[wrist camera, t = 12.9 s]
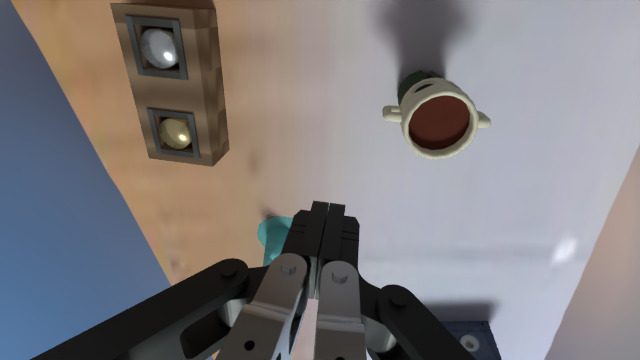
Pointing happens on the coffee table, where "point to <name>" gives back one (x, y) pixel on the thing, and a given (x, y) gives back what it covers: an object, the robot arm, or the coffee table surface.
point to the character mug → (435, 116)
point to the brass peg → (175, 132)
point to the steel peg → (160, 47)
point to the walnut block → (177, 79)
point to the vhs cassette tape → (475, 338)
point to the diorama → (273, 236)
